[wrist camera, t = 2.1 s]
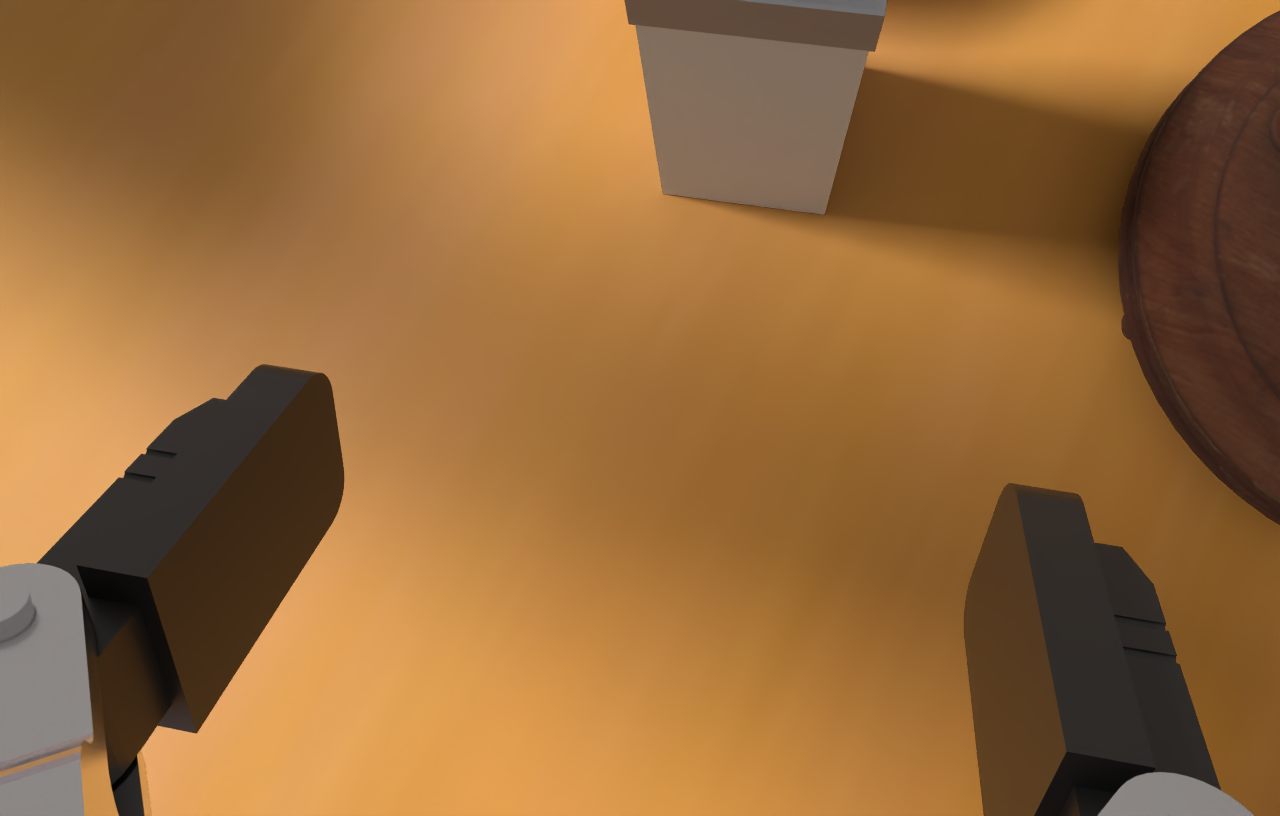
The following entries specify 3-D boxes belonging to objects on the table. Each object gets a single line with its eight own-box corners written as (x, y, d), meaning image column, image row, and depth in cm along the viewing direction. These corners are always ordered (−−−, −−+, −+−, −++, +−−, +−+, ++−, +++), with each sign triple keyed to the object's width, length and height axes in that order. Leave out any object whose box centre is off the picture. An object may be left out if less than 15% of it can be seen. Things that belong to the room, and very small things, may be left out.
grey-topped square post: (827, 218, 27) (884, 16, 18) (658, 196, 28) (622, -13, 18) (850, 60, 28) (918, -218, 18) (685, 41, 29) (664, -239, 19)
